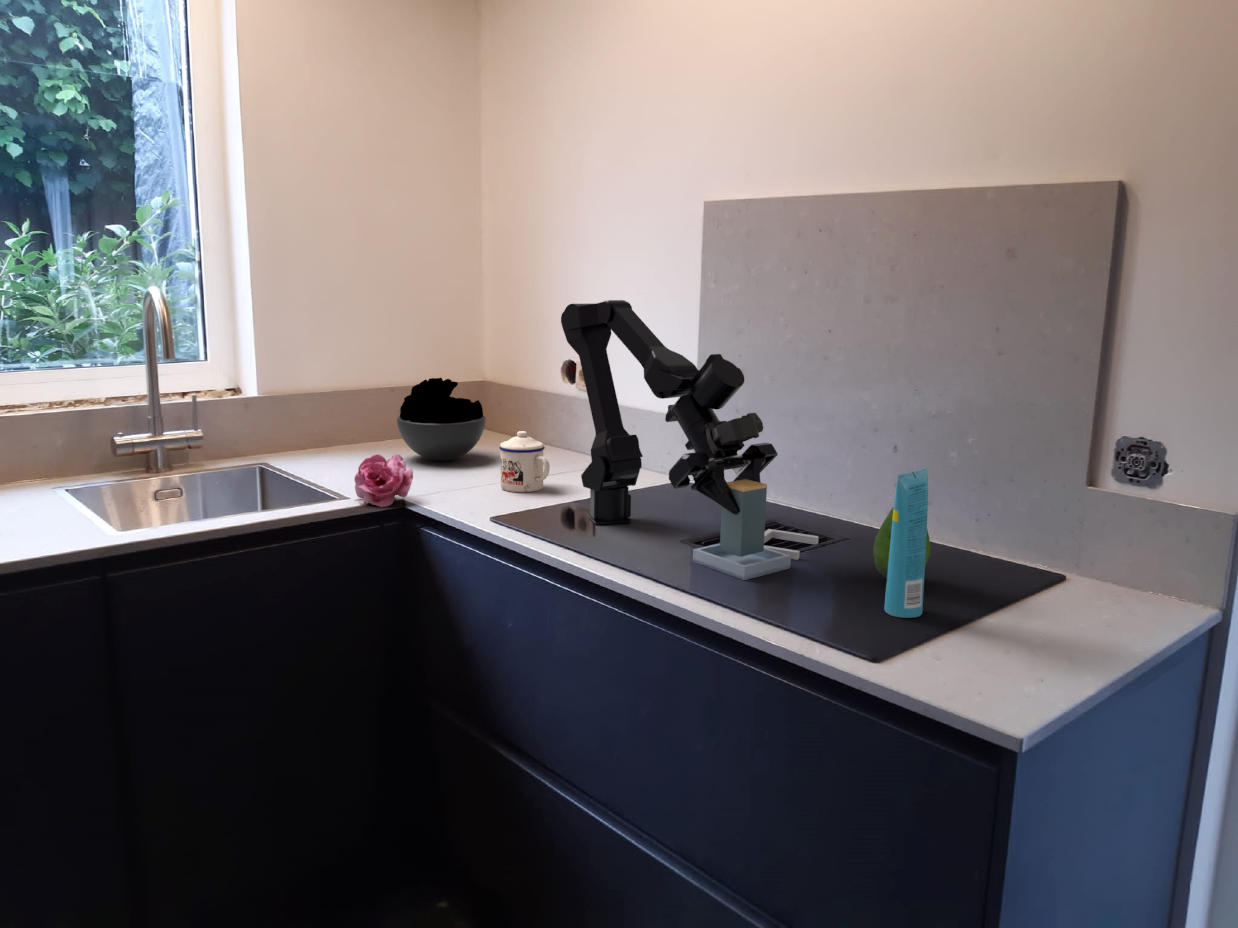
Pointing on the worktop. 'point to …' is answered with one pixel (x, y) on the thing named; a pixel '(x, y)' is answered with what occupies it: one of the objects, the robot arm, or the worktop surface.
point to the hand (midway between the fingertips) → (750, 510)
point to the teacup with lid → (523, 464)
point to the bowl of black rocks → (440, 421)
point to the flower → (382, 479)
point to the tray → (742, 562)
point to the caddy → (744, 519)
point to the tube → (908, 546)
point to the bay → (791, 537)
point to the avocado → (883, 545)
